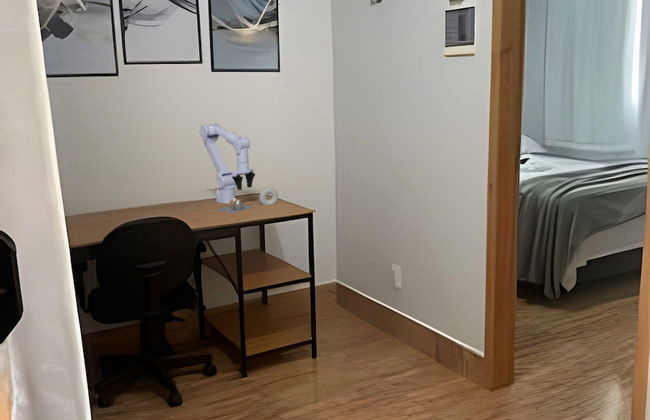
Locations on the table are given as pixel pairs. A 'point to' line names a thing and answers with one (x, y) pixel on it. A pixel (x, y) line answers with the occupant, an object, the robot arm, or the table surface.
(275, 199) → the donut
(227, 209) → the gear board
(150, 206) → the table surface
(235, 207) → the fixed gear
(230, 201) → the brass gear
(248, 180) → the robot arm
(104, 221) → the table surface
